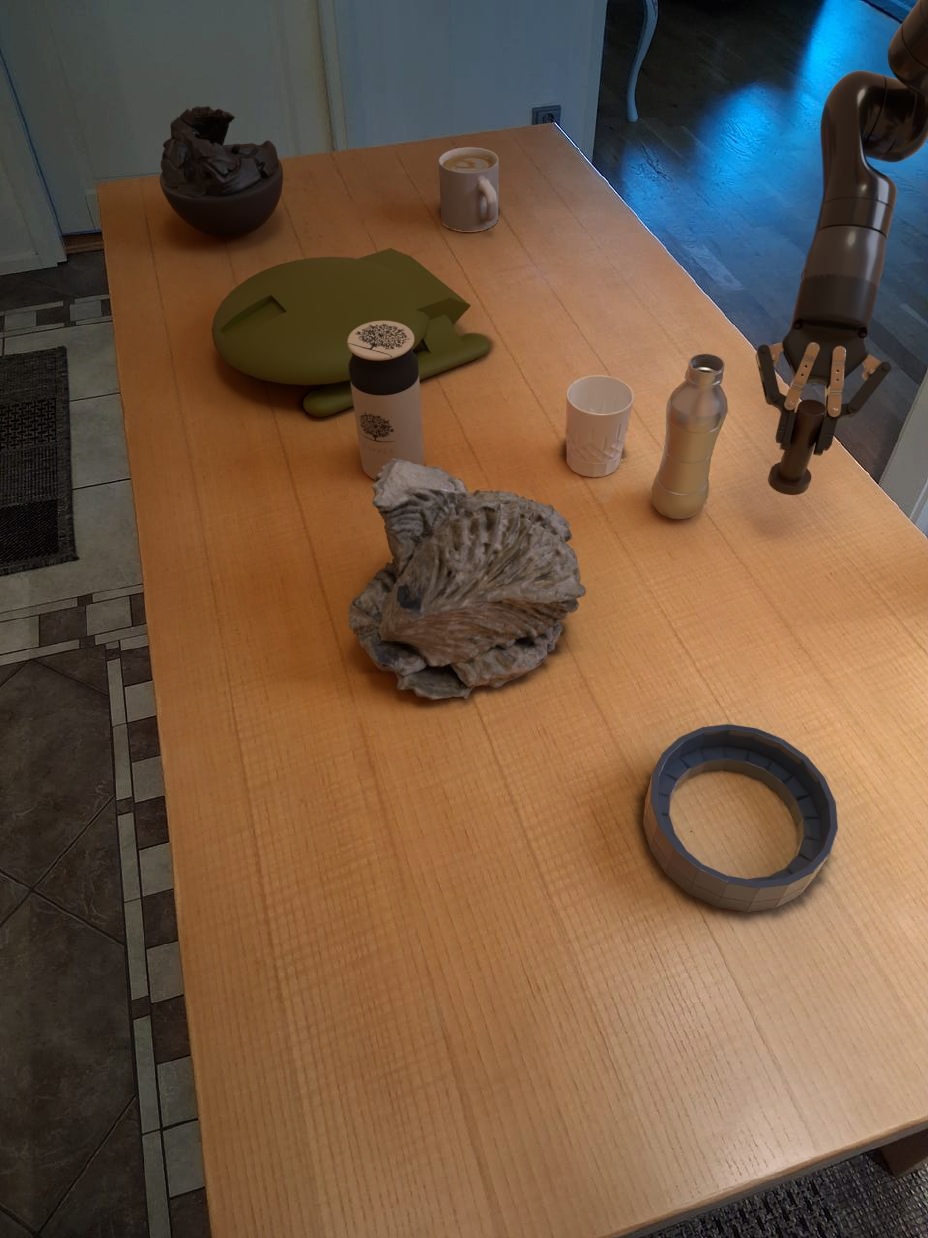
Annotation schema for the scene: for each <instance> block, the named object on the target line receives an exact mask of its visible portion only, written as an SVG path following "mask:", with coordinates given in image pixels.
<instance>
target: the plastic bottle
mask: <svg viewBox="0 0 928 1238" xmlns="http://www.w3.org/2000/svg"><path fill="white" fill-rule="evenodd" d="M725 367H726V364H725V361H724V360H723V358H721V357H720V356H718V355H715V354H712V353H699V354H695V355H693V356H692V357H691V358H690V359H689V360H688V364H687V369H686V371H685V374H684V381H682V382H681V383H680V384H679V385H678V386H676V388H674V389H673V390H672V392H671V393H670V396H669V397H668V399H667V401H666V407H665V413H666V414H665V419H666V420H665V439H664V446H663V448H664V449H663V454H662V457H661V460H660V464H659V468H658V471H657V472H656V475H655V477H654V479H653V482H652V485H651V489H650V490H651V502H652V505H653V506H654V508H655V509H656V511H657V512H658V513H659V514H661V515H662V516H664V517H666V518H669V519H673V520H686V519H689V518H692V517H694V516H695V515H696V514H698V513H700V512H701V511H702V510H703V509H704V506H705V505H706V502H707V500H708V498H709V493H710V492H709V491H710V479H709V477H710V469H711V461H712V457H713V452H714V449H715V446H716V443H717V440H718V437H719V435H720V432H721V430H722V427H723V425H724V422H725V421H726V418H727V414H728V411H729V404H728V398H727V395H726V393H725V391H724V389H723V387H722V386H721V384H722V382H723V380H724V371H725Z"/></svg>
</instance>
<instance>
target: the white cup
mask: <svg viewBox="0 0 928 1238" xmlns="http://www.w3.org/2000/svg"><path fill="white" fill-rule="evenodd" d="M632 389H633V388H631V386H630V385H629V384H628V383H626V382H625V381H623V380H622V379H619V378H616V377H614V376H610V375H604V374H603V375H601V374H595V375H594V374H593V375H587V376H586V375H585V376H582V377H580V378H578V379H576V380H574V381H573V382H571V384H570V385H569V386H568V388H567V390H566V396H565V397H566V402H565V403H566V404H565V405H566V407H565V445H566V455H565V456H566V464H567V466H568V467H569V468H570V470H571V471H572V472H574V473H576V474H578V475H580V476H582V477H588V478H600V477H606V476H608V475H610V474H612V473H614V472H615V471H616V470H617V469H618V467H619V466H620V464H621V459H622V453H623V449H624V446H625V444H626V443H625V442H626V437H627V434H628V430H629V426H630V425H629V424H630V420H631V415H632V411H633V410H632V409H633V404H634V400H635V394H634V390H632Z"/></svg>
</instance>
